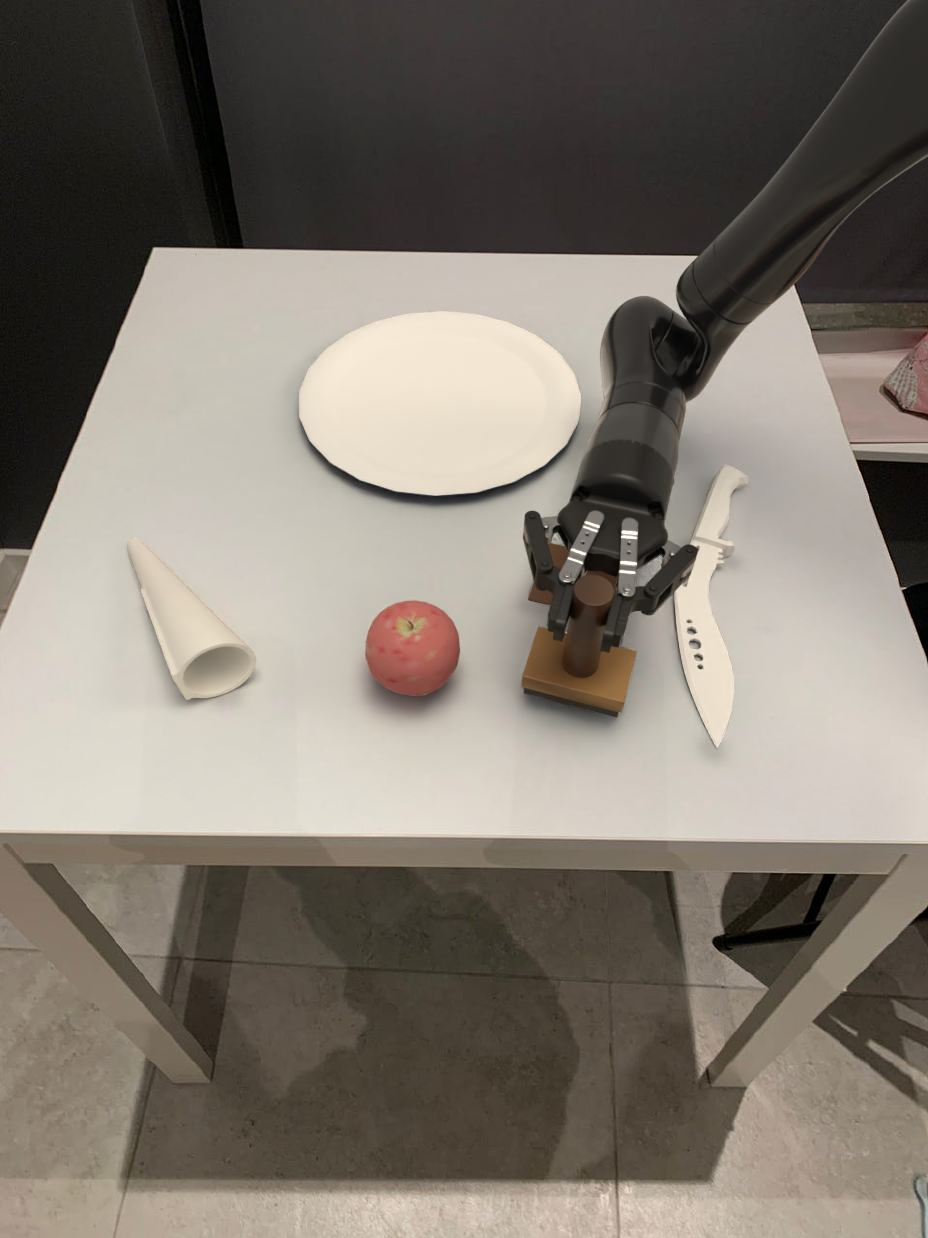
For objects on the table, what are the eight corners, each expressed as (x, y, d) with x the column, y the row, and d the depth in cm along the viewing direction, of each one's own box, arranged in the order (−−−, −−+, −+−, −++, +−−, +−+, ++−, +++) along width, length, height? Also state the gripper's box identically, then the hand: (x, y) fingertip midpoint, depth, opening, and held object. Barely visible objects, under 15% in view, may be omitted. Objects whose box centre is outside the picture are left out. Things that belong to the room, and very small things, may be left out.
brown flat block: (632, 561, 84) (632, 560, 84) (618, 620, 80) (618, 619, 80) (546, 542, 86) (546, 542, 86) (528, 599, 82) (528, 599, 82)
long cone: (200, 536, 88) (265, 675, 76) (136, 563, 87) (191, 709, 75) (178, 491, 84) (243, 631, 72) (110, 519, 82) (164, 667, 70)
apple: (444, 724, 74) (444, 667, 68) (357, 702, 75) (348, 644, 69) (469, 651, 78) (471, 591, 72) (386, 631, 79) (380, 570, 73)
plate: (355, 303, 108) (354, 290, 107) (603, 347, 103) (605, 334, 102) (254, 472, 91) (251, 459, 90) (546, 533, 86) (547, 520, 85)
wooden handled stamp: (631, 670, 75) (657, 576, 66) (619, 721, 73) (644, 631, 63) (536, 645, 77) (547, 550, 67) (520, 695, 74) (529, 603, 64)
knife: (722, 744, 72) (626, 709, 74) (717, 754, 73) (623, 719, 75) (801, 483, 88) (720, 459, 90) (796, 495, 89) (716, 471, 91)
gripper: (545, 420, 73) (486, 583, 63) (725, 455, 71) (693, 631, 61) (538, 488, 79) (484, 648, 69) (704, 523, 77) (672, 693, 67)
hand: (582, 639), depth 65 cm, fingers closed on wooden handled stamp, 3 cm apart
